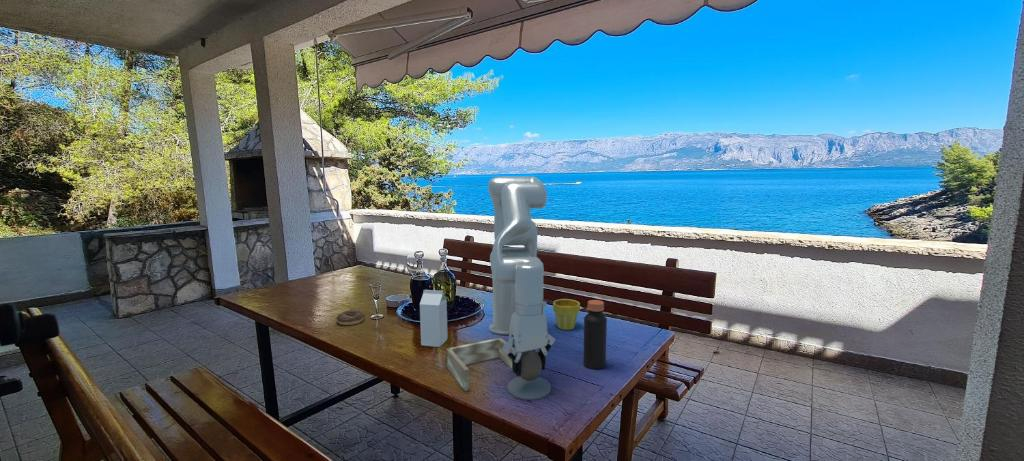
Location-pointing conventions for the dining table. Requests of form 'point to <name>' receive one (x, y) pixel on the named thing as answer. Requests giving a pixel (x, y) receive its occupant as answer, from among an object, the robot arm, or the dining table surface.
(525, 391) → the mat
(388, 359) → the dining table surface
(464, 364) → the holder
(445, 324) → the milk carton
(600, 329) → the bottle
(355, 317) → the donut
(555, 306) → the plant pot
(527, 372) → the vase
